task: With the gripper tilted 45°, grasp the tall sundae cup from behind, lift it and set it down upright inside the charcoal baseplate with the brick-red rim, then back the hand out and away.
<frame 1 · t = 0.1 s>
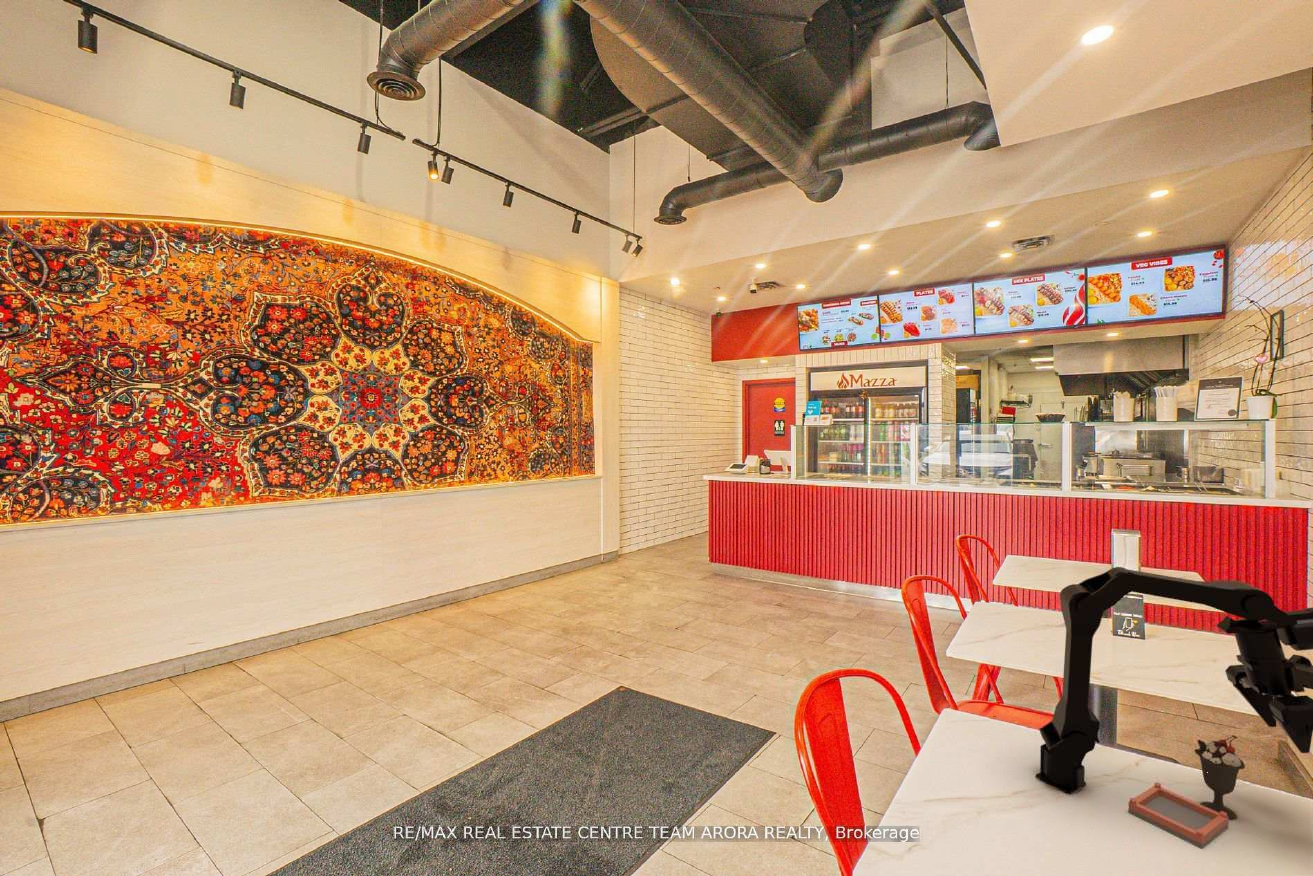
hand: (1288, 739, 105), 15 cm above the table, tool pointing down, fingers open, 9 cm apart
baseplate: (1177, 820, 107), on the table
sundae: (1218, 812, 109), on the table
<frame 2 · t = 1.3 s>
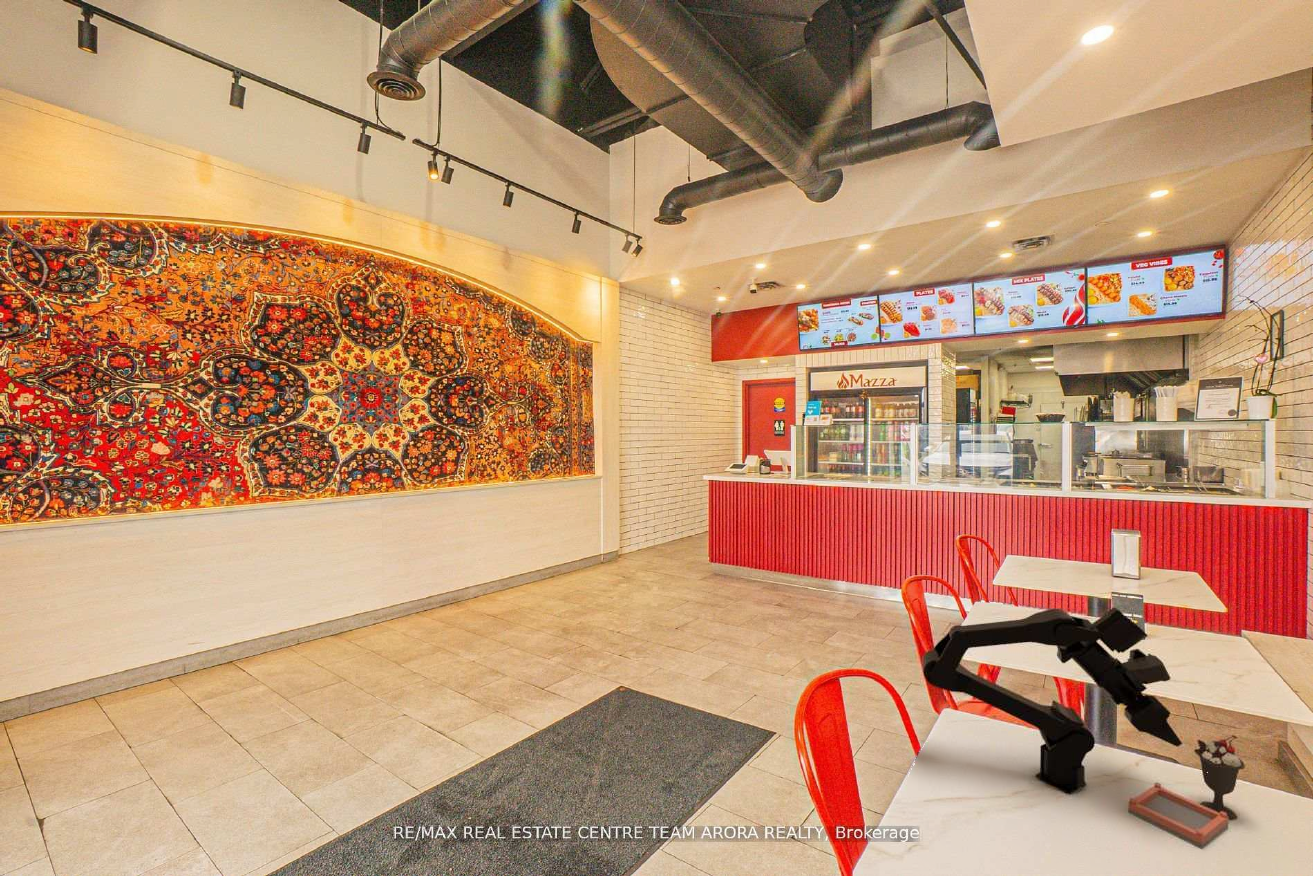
hand: (1168, 732, 112), 13 cm above the table, tool tilted 45°, fingers open, 9 cm apart
nothing on the table moved.
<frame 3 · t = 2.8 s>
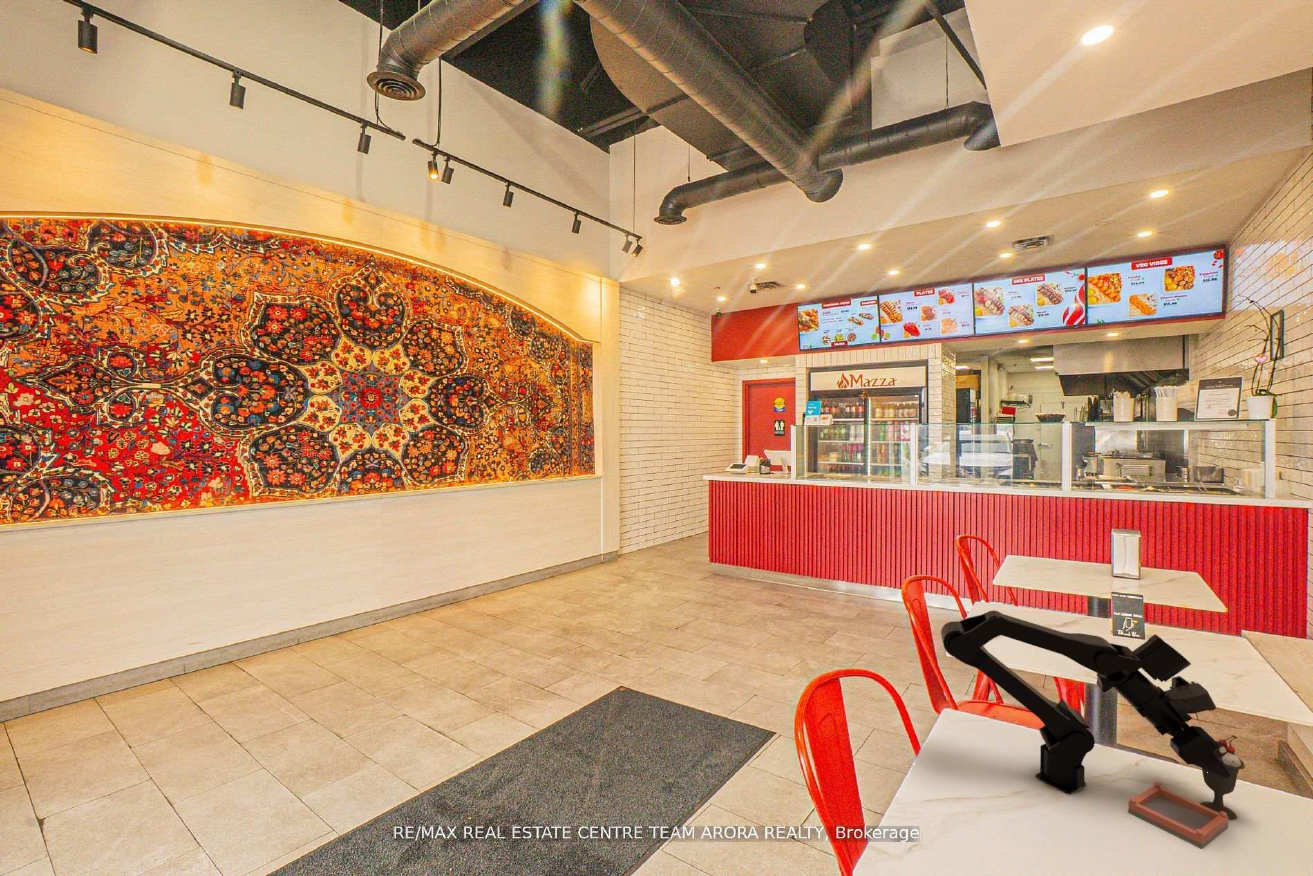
hand: (1215, 762, 109), 9 cm above the table, tool tilted 45°, fingers open, 9 cm apart
nothing on the table moved.
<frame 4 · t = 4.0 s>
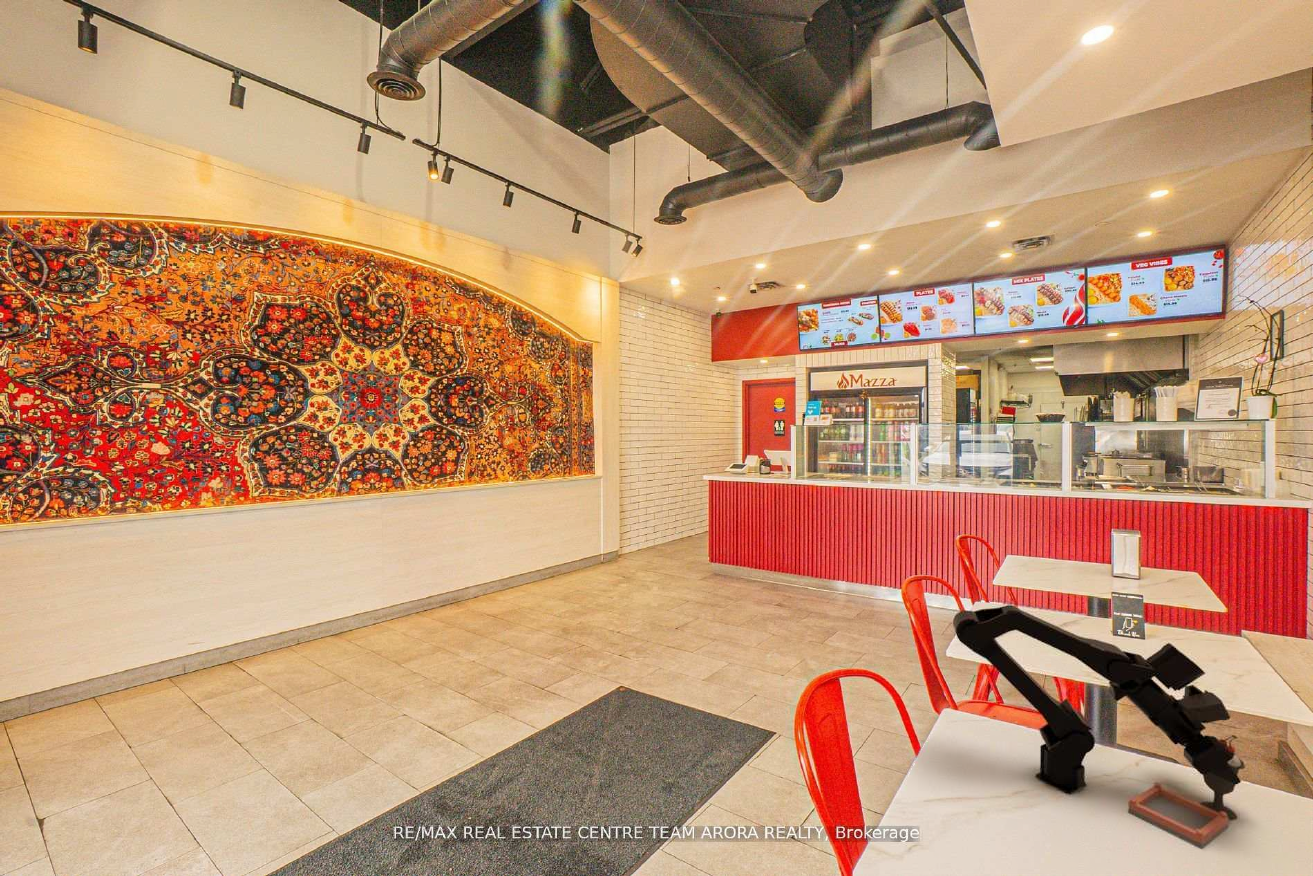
hand: (1228, 772, 109), 8 cm above the table, tool tilted 45°, fingers closed on sundae, 6 cm apart
sundae: (1218, 812, 109), on the table, touching gripper
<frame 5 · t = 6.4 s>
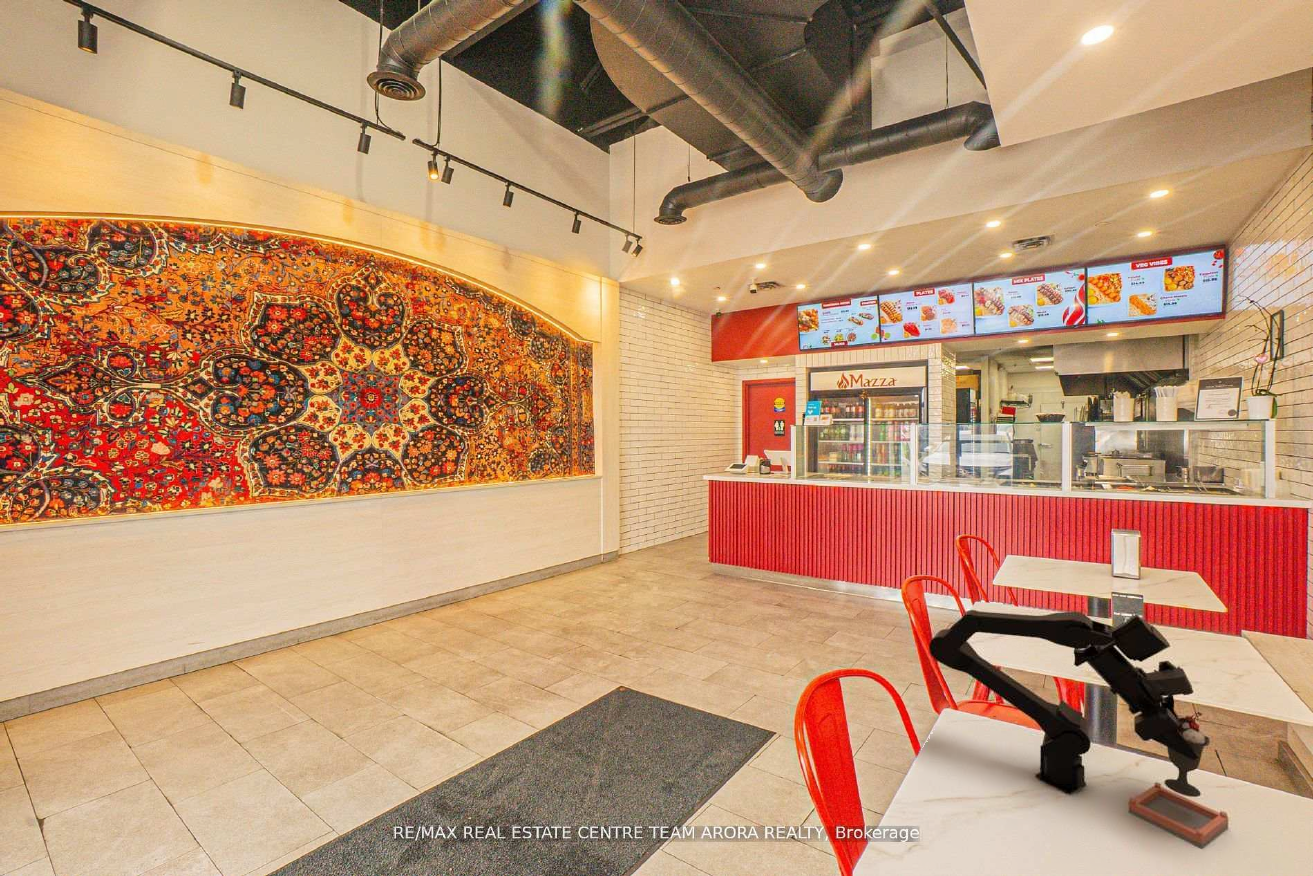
hand: (1194, 750, 106), 13 cm above the table, tool tilted 45°, fingers closed on sundae, 6 cm apart
sundae: (1182, 789, 107), point 5 cm above the table, touching gripper
when the fingers open (10 cm above the table, at t = 8.3 s): sundae drops 1 cm, resting on baseplate.
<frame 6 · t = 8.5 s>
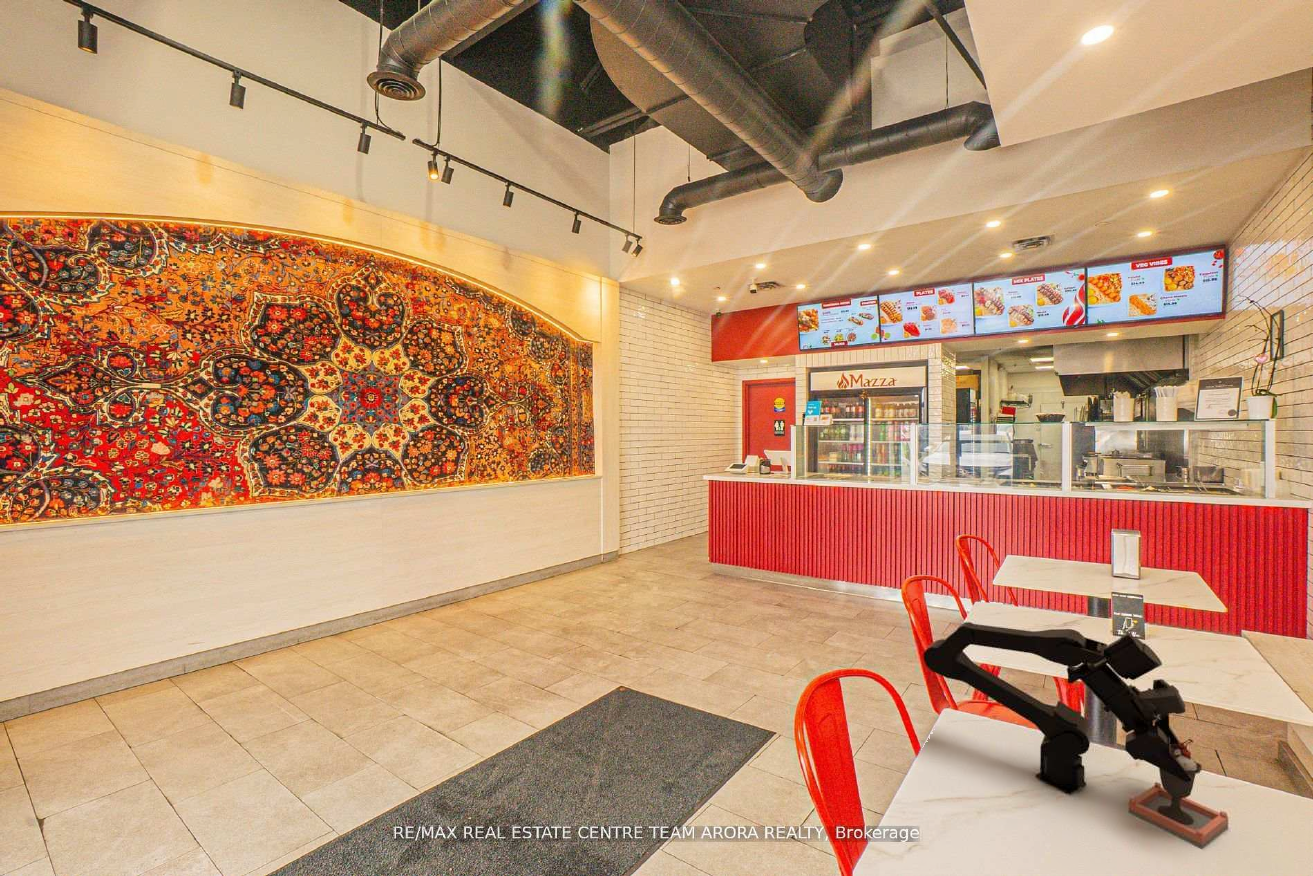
hand: (1188, 769, 106), 10 cm above the table, tool tilted 45°, fingers open, 8 cm apart
sundae: (1175, 816, 107), point 1 cm above the table, touching baseplate
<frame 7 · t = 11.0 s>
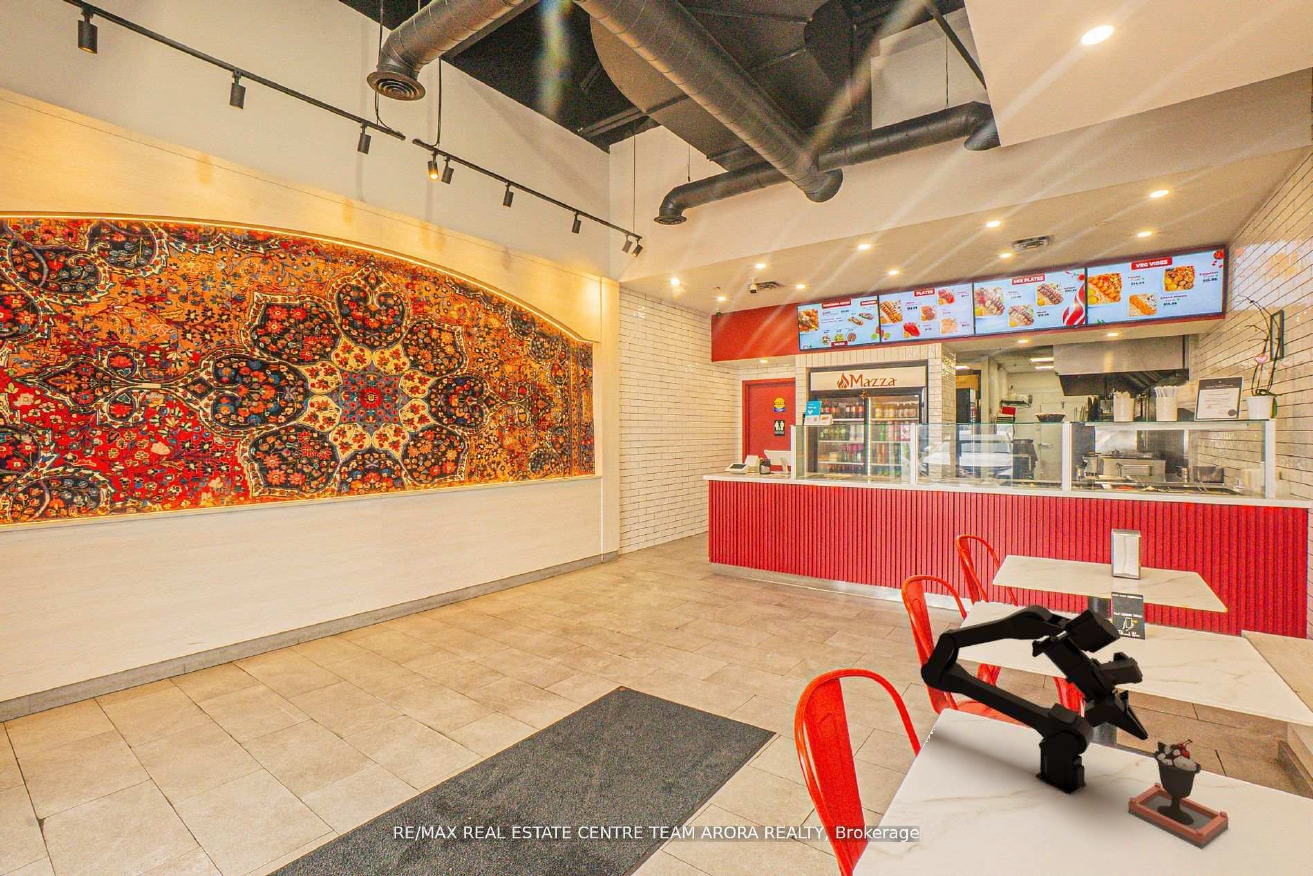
hand: (1145, 738, 110), 14 cm above the table, tool tilted 45°, fingers closed
nothing on the table moved.
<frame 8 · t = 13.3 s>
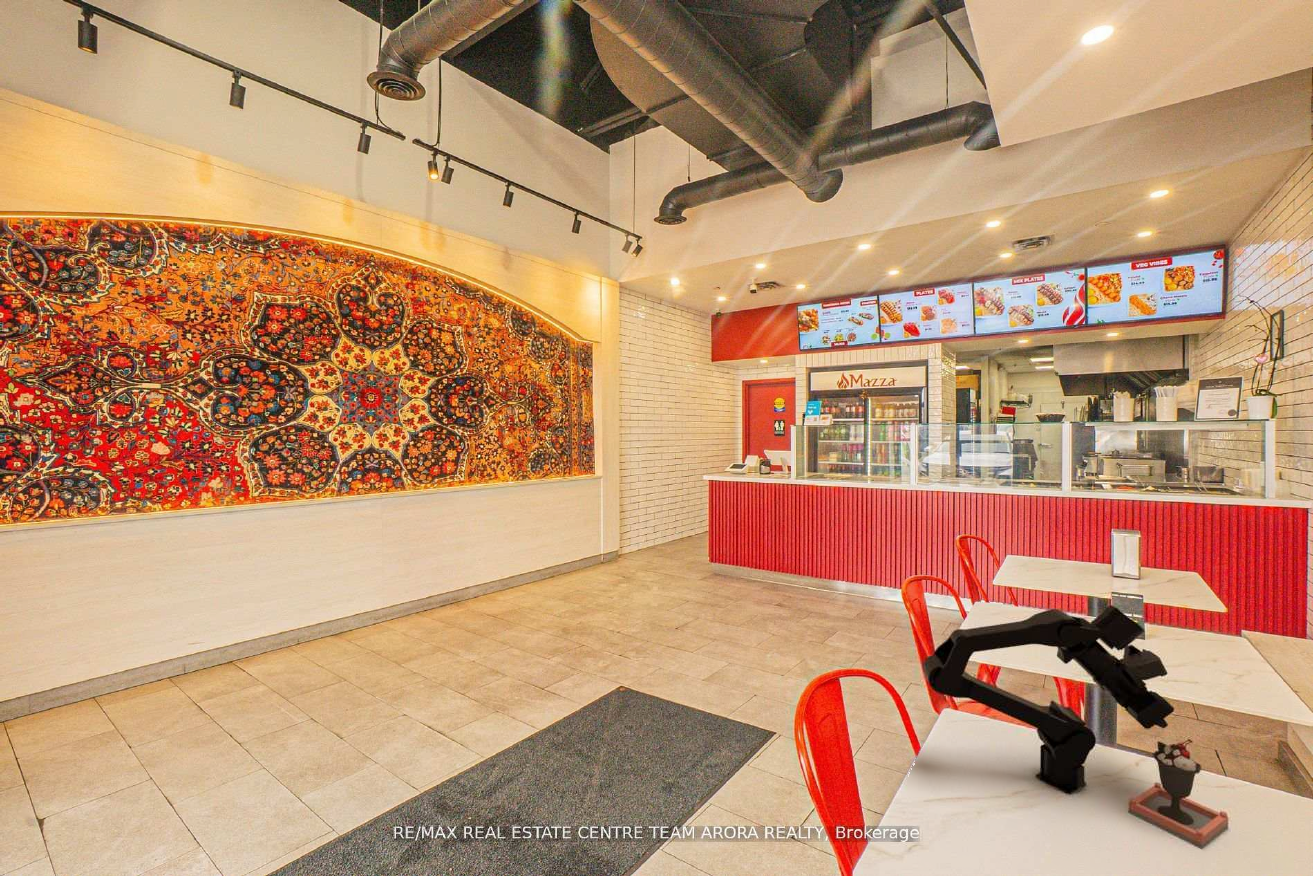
hand: (1165, 726, 114), 14 cm above the table, tool tilted 45°, fingers closed
nothing on the table moved.
at the end: sundae 0.2 cm off-centre on the baseplate, point 0.6 cm above the baseplate's base; sundae tilted 0°; the gripper is holding nothing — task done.
